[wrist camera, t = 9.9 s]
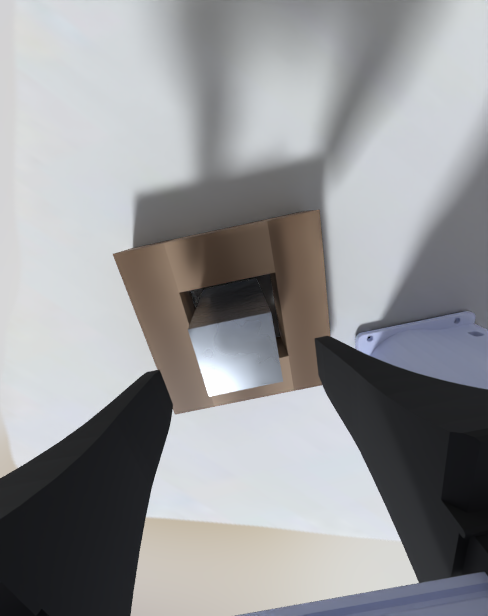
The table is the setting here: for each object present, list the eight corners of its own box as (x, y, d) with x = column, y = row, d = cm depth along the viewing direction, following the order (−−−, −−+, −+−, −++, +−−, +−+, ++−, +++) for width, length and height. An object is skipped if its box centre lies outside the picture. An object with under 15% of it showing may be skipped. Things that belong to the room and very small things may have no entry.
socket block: (304, 211, 16) (319, 209, 14) (320, 360, 21) (334, 382, 18) (132, 248, 17) (112, 254, 14) (182, 388, 21) (175, 414, 18)
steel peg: (256, 277, 18) (270, 312, 11) (265, 326, 19) (283, 381, 13) (203, 289, 18) (187, 329, 11) (216, 336, 19) (208, 396, 13)
